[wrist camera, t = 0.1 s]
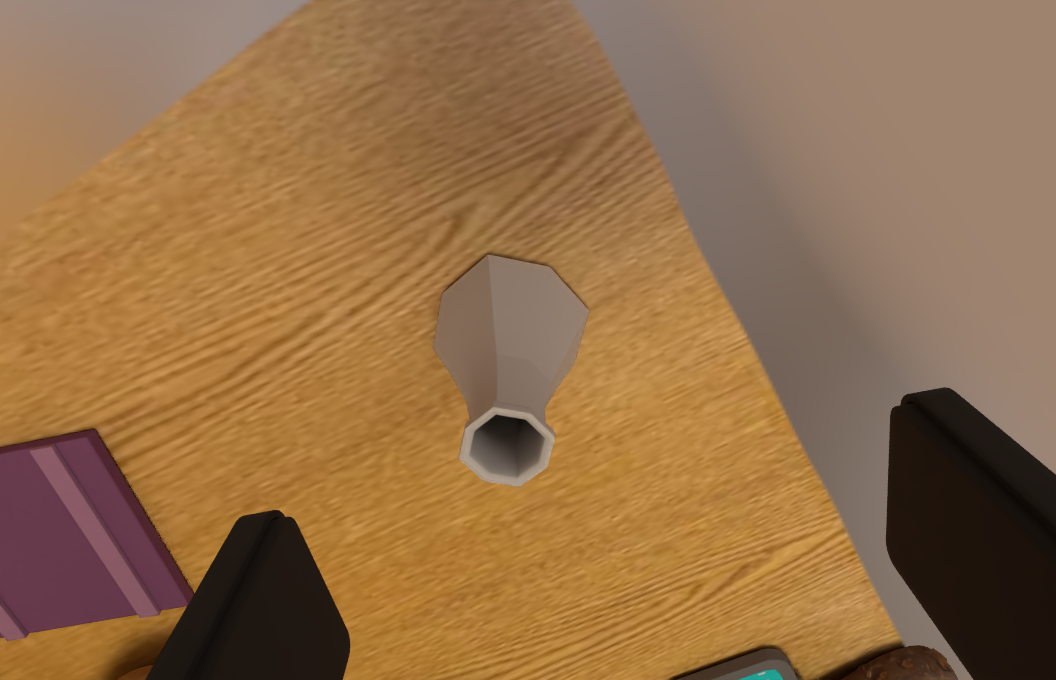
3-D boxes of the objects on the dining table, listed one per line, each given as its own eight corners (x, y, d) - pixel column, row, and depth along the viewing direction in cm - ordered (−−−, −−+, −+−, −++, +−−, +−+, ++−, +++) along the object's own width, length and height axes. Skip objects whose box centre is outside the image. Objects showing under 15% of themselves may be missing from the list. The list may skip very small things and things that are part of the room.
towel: (-133, 473, 34) (-153, 486, 33) (95, 428, 33) (82, 440, 32) (-6, 630, 39) (-20, 645, 38) (195, 595, 38) (186, 610, 37)
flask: (536, 414, 33) (542, 558, 24) (408, 351, 31) (364, 480, 22) (615, 301, 30) (655, 416, 21) (480, 225, 29) (462, 314, 20)
